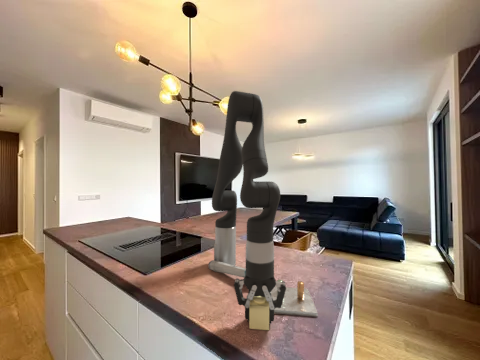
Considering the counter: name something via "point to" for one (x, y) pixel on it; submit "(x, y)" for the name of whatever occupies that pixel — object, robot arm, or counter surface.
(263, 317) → the cube with dome bump
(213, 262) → the white handheld device
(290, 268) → the counter surface
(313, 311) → the plate
